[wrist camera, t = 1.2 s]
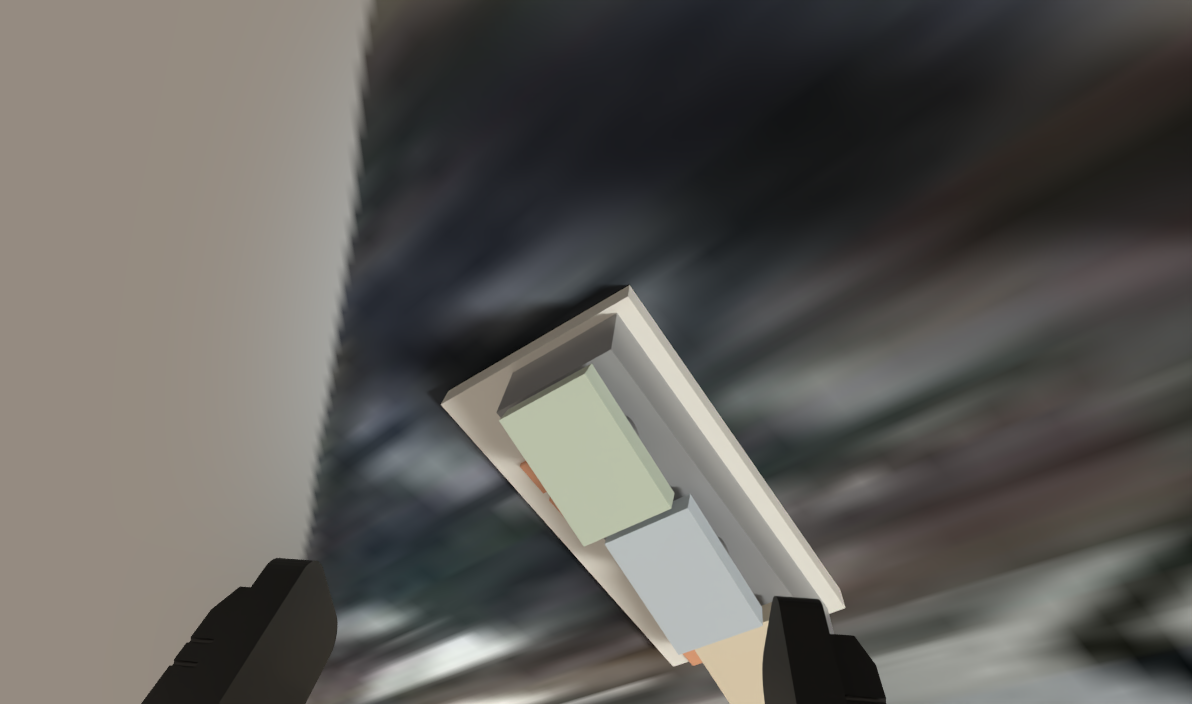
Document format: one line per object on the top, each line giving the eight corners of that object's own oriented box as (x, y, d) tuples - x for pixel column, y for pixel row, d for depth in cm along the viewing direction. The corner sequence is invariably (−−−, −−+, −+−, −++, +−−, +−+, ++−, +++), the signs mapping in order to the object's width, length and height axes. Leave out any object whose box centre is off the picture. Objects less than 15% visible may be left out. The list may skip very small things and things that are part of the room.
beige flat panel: (833, 689, 39) (838, 723, 37) (757, 712, 41) (757, 746, 39) (771, 590, 38) (772, 618, 36) (695, 618, 40) (692, 646, 38)
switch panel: (841, 591, 44) (862, 664, 40) (674, 650, 49) (675, 721, 44) (629, 285, 35) (623, 331, 31) (448, 390, 40) (417, 445, 35)
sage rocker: (676, 483, 33) (671, 508, 31) (594, 519, 35) (584, 546, 33) (596, 356, 32) (584, 373, 30) (515, 401, 34) (498, 420, 31)
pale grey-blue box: (762, 595, 36) (762, 625, 34) (682, 624, 38) (678, 654, 36) (691, 483, 35) (687, 508, 33) (613, 519, 37) (604, 544, 35)
